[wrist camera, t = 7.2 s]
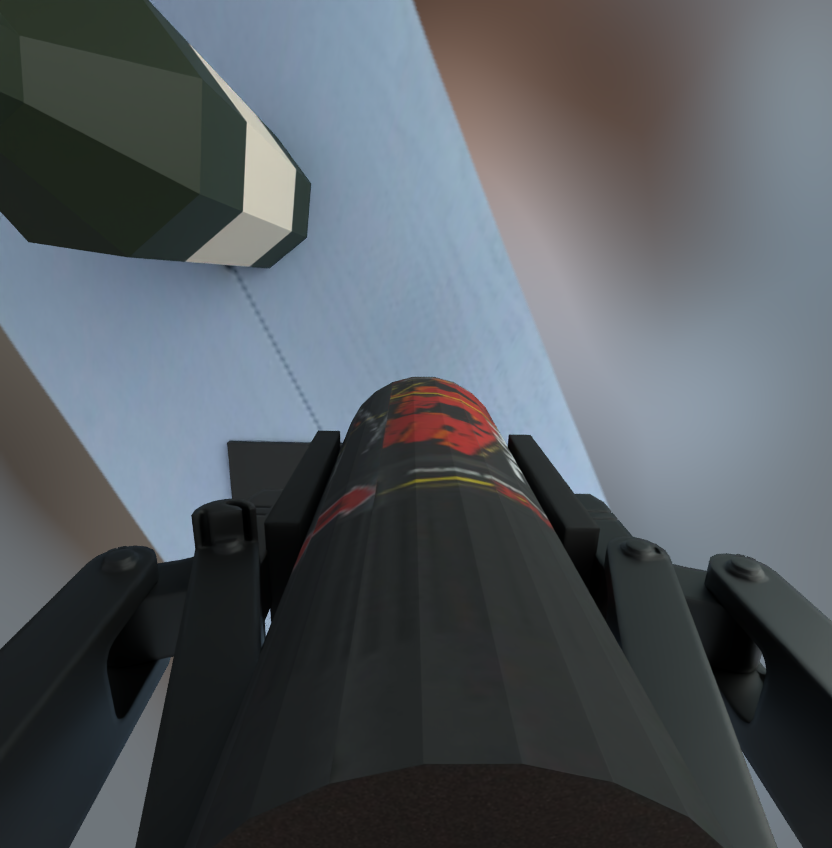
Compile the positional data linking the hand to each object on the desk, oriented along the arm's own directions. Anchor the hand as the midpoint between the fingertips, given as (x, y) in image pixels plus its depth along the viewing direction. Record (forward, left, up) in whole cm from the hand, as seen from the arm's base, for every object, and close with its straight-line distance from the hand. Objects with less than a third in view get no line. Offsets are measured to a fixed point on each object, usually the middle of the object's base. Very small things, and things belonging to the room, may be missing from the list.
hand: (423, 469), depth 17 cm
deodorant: (0, 0, -2) cm, 2 cm away
